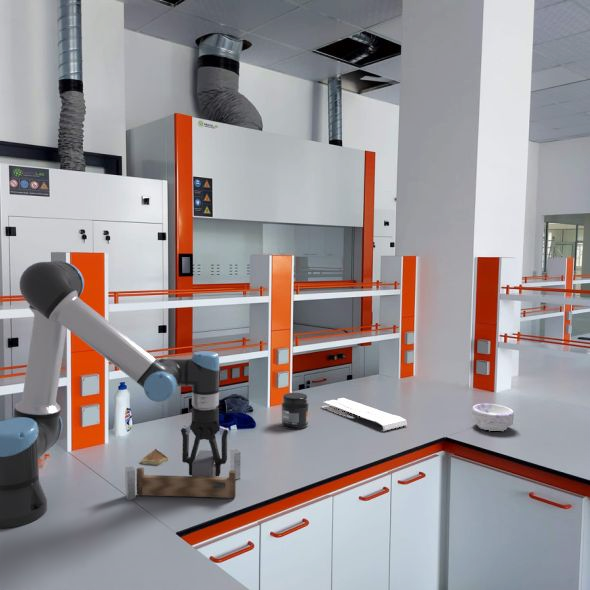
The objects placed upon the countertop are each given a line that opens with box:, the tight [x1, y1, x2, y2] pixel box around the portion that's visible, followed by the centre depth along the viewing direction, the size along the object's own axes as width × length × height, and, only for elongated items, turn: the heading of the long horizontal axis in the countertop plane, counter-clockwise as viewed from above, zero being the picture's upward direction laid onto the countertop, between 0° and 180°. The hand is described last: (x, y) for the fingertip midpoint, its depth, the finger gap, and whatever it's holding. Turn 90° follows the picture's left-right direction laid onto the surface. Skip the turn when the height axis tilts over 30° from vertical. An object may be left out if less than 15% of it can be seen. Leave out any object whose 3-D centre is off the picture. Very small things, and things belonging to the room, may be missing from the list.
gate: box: [136, 467, 237, 499], centre depth 151 cm, size 27×3×7 cm, turn 88°
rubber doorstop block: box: [191, 449, 215, 477], centre depth 157 cm, size 5×10×9 cm, turn 178°
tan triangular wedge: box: [140, 448, 169, 466], centre depth 180 cm, size 11×8×2 cm
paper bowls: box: [471, 403, 515, 432], centre depth 215 cm, size 15×15×8 cm
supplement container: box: [281, 392, 309, 430], centre depth 215 cm, size 10×10×12 cm
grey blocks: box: [124, 448, 241, 501], centre depth 158 cm, size 33×3×8 cm, turn 118°
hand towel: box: [321, 397, 408, 432], centre depth 228 cm, size 12×4×40 cm
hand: (204, 486), depth 158 cm, fingers closed on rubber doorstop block, 5 cm apart
